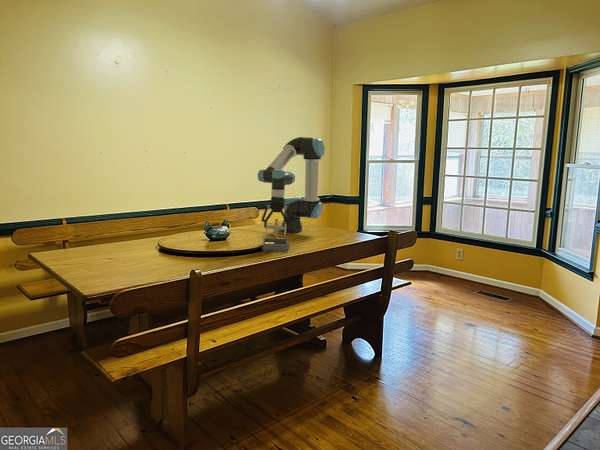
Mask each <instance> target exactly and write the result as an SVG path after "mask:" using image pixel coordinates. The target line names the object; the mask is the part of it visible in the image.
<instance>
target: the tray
mask: <svg viewBox="0 0 600 450" xmlns="http://www.w3.org/2000/svg"><path fill="white" fill-rule="evenodd" d="M265 242H274V243H275V244H265ZM262 243H263V247H262V251H263V252H284V253H286V252H285V251H289V250H290V249H289V248H290V244H289V239H288V238H281V237H280V238H279V237H271V238H270V237H262Z"/></svg>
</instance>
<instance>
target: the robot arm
mask: <svg viewBox="0 0 600 450" xmlns="http://www.w3.org/2000/svg"><path fill="white" fill-rule="evenodd" d="M324 155H325V143H324V142H323V139H321V138H318V137H305V136H299V137H295V138H292V139H291V140H289V141H288V142H286V143H285V145H284V146H283V147H282V150H281V152H280V153H279V154H278V155H277V156H276V157H275V158H274V160H272V162H271V163H270V164H269V165H268V166H267V167H266V169H259V170H258V171H257V172H258V173H257V179H258V180H257V181H259V182H260V183H264V184H271V190H270V191H271V197H270V204H265V205H264V206H265V209H264V211H263V214H262V217H261V222H263V224H264V226H263V228H264V229H265V235H268V221H269V219H270V218H271V216H272V215H273V213H277V214H278V213H280V214H281V216H282V218H283V221H282V223H281V225H280V226H281V227H285V230H281V231H282V232H283V233H284V236H286V235H287V233H292V234H293V233H295V234H296V233H301V232H303V224H302V221H301V218H305V219H306V218H307V219H311V220H312V219H313V220H318V219H319V218H320V217H321V215H322V212H323V209H324V207H323V206H324V205H323V202H321V199H320V197H318V195H319V194H318V193H319V192H318V191H319V162H320V160H322V157H323V156H324ZM296 156H303V160H304V162H305V172H304V173H305V175H304V177H305V179H304V181H305V183H304V184H305V185H304V197H299V196H298V197H297V196H296V197H295V196H294V197H287V198H285V197H284V196H285V191H286V189H285V186H289V185H291V184H294V183H295V181H296V176H295V173H293V172H292V171H286V170H285V169H284V167H285V166H286V165H288V163H289V162H290V161H291V159H293V158H295V157H296ZM269 208H270V212H269V213H268V215H267V211H268V210H269ZM266 215H267V216H266ZM265 217H266V218H265Z"/></svg>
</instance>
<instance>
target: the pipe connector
mask: <svg viewBox="0 0 600 450" xmlns="http://www.w3.org/2000/svg"><path fill="white" fill-rule="evenodd" d="M268 229H270V230H273V231H274V232H273V233H274V235H273V236H274V237H278V230H280V231H282V230H285V227H281V225H280V224H279V219H278V218H274V225H268ZM268 229H267V230H268Z"/></svg>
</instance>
